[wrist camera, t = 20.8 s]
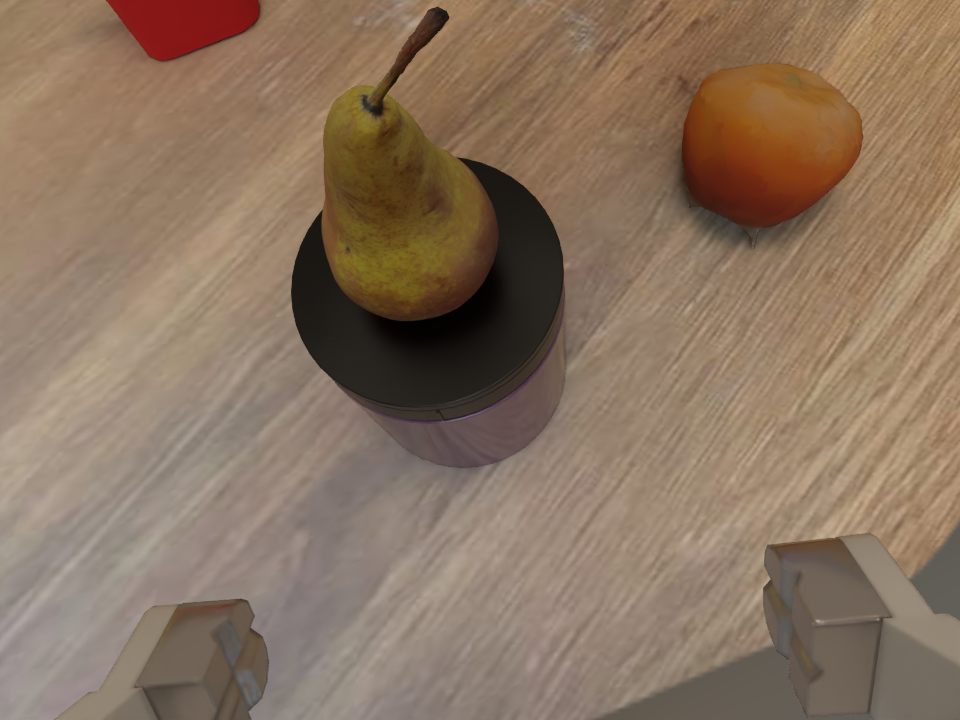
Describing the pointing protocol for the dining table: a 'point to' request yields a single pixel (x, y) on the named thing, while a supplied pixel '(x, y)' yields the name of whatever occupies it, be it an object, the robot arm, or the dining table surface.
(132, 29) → the mug
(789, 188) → the fruit
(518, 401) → the jar
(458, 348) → the jar lid
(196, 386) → the dining table surface
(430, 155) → the fruit
